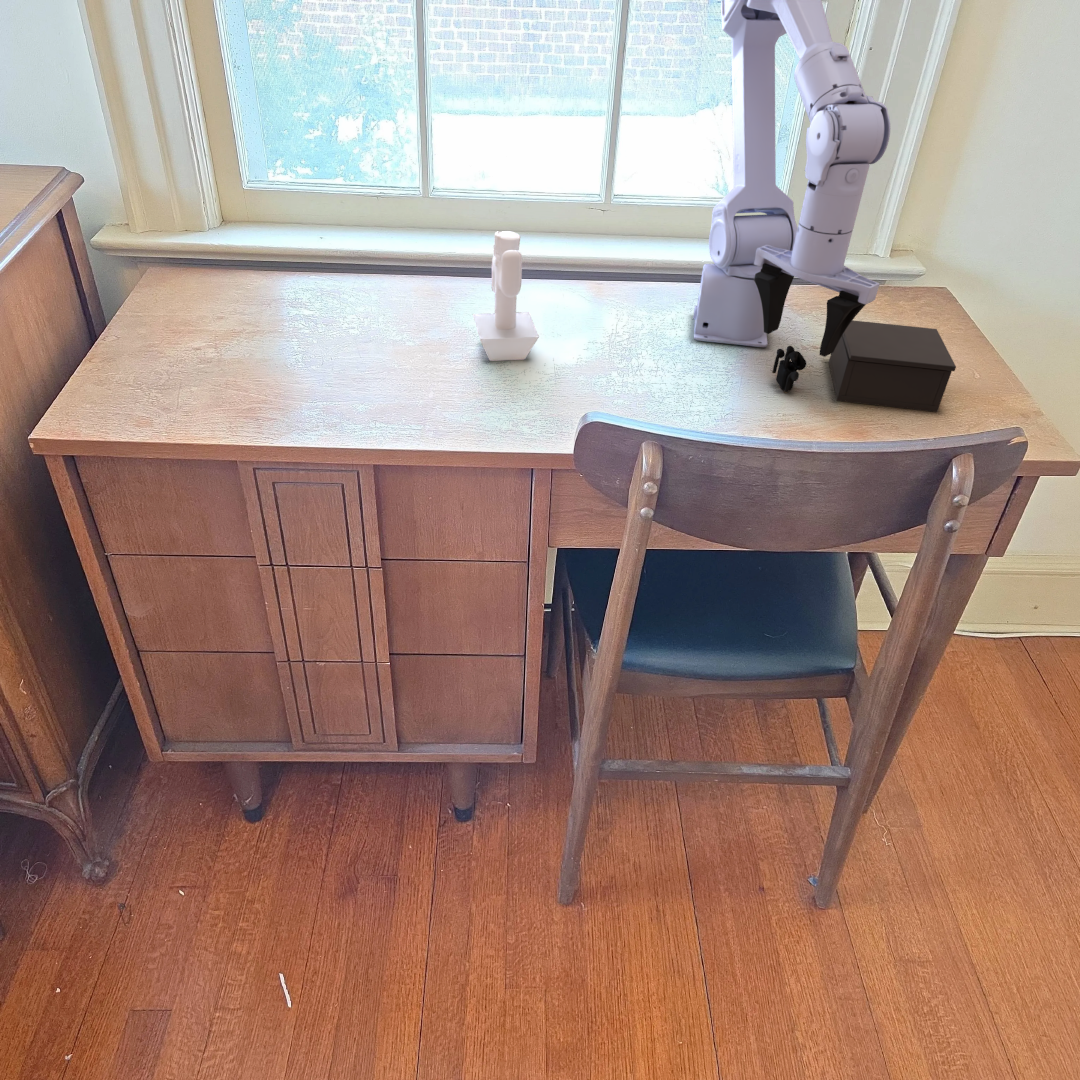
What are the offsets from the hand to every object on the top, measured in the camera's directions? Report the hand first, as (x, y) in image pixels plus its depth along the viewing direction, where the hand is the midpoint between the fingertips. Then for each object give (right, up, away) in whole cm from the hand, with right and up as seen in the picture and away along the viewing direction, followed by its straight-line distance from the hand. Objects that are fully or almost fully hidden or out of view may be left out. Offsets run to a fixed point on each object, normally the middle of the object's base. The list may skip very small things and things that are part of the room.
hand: (798, 341), depth 105 cm
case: (+12, -4, +5) cm, 13 cm away
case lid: (+12, 0, +1) cm, 12 cm away
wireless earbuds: (0, -5, +4) cm, 6 cm away
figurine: (-35, 0, +8) cm, 36 cm away
